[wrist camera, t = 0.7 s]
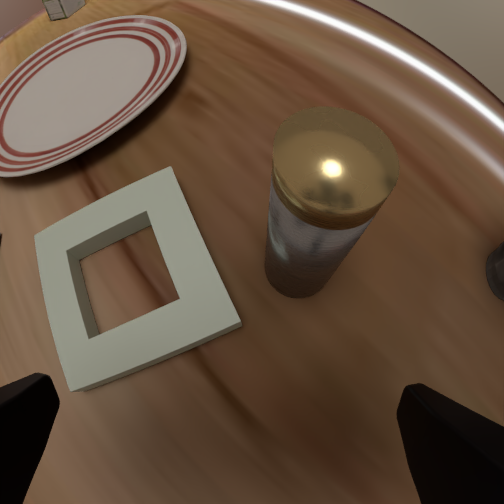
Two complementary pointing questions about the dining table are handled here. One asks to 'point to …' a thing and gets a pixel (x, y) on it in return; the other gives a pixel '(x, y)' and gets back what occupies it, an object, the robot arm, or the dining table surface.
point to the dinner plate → (84, 89)
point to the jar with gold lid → (323, 194)
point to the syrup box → (62, 8)
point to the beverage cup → (496, 271)
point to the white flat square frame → (151, 324)
